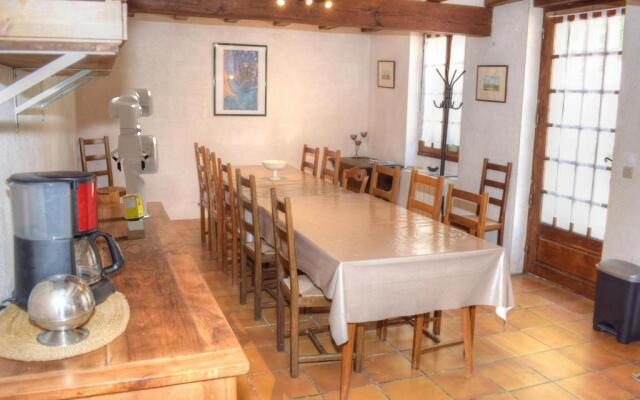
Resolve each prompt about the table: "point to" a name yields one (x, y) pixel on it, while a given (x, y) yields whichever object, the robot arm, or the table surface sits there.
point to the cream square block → (135, 224)
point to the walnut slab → (135, 234)
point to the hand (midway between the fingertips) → (131, 170)
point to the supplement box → (133, 206)
